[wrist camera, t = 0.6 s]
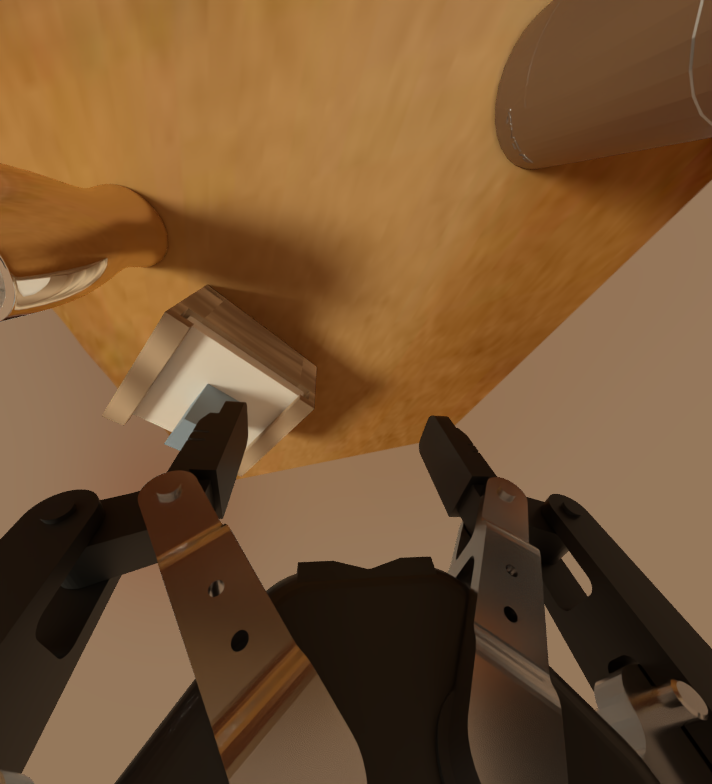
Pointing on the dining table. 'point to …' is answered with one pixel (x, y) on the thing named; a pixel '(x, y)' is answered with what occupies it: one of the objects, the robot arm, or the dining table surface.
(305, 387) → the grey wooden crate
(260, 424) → the cover plate
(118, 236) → the beer glass
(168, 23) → the dining table surface
